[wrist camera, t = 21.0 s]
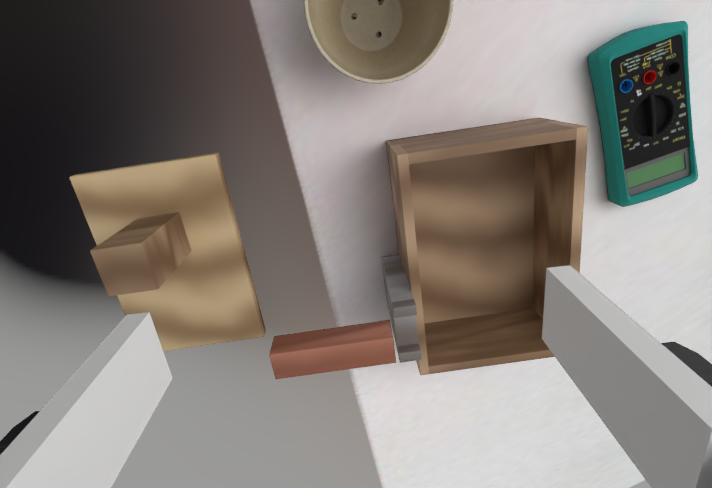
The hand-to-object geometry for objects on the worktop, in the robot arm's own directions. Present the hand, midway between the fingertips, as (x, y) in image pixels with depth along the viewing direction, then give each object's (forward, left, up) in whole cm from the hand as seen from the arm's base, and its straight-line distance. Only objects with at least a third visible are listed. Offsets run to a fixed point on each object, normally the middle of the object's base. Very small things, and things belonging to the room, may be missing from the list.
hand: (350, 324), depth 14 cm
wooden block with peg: (+7, -18, -27) cm, 33 cm away
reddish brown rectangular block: (+12, -3, -17) cm, 21 cm away
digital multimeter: (-1, +27, -27) cm, 39 cm away
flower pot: (-12, +4, -27) cm, 30 cm away
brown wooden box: (+8, +11, -27) cm, 30 cm away
